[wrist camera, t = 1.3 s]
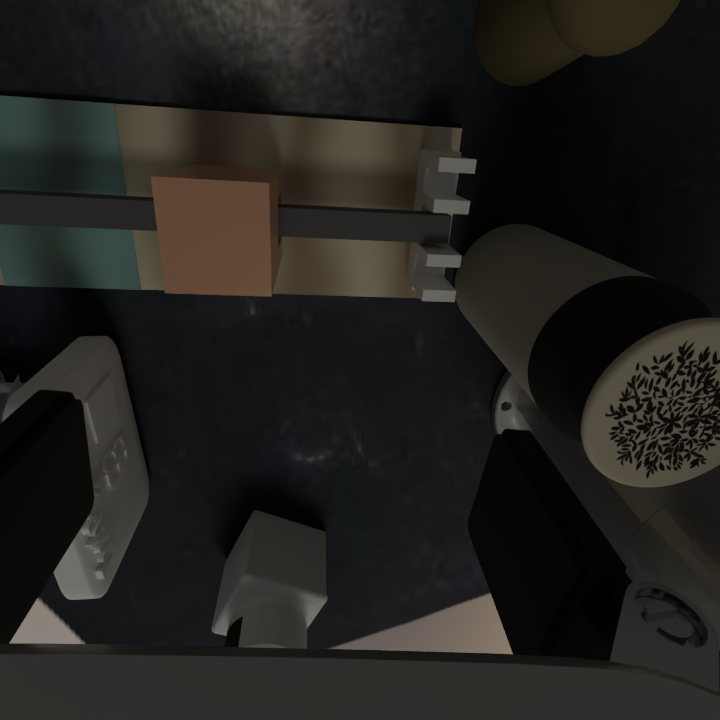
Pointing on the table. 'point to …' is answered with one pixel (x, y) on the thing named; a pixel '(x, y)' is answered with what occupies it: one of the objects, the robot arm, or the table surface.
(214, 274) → the brown rectangular block
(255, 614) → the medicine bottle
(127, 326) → the table surface
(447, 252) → the cable comb
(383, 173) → the board
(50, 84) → the table surface
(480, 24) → the yellow peg figure
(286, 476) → the table surface
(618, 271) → the travel mug
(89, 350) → the cable organizer
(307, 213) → the dark grey bar
